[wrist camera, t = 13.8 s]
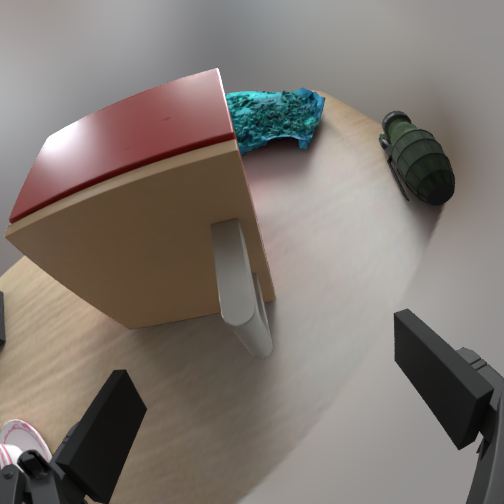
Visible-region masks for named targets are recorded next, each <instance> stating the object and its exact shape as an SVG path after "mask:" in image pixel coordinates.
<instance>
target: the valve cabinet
mask: <svg viewBox="0 0 504 504" xmlns="http://www.w3.org/2000/svg"><path fill="white" fill-rule="evenodd" d="M233 139H235V140H236V142H237V138H236V134H235V130H234V126H233V122H232V119H231V115H230V111H229V107H228V103H227V100H226V96H225V92H224V88H223V85H222V81H221V77H220V73H219V70H218V69H217V68H216V69H212V70H209V71H205V72H201V73H198V74H194V75H191V76H188V77H184V78H181V79H178V80H175V81H172V82H169V83H166V84H163V85H160V86H157V87H154V88H152V89H149V90H146V91H144V92H141V93H138V94H136V95H134V96H131V97H128V98H126V99H124V100H121V101H119V102H117V103H114V104H112V105H110V106H108V107H105V108H103V109H101V110H99V111H97V112H95V113H93V114H91V115H88V116H86V117H84V118H83V119H81V120H79V121H77V122H75V123H73V124H71V125H69V126H67V127H66V128H64V129H62V130H60V131H58V132H56V133H55V134H53V135H51V136H50V137H48V139H47V140H46V142H45V144H44V146H43V147H42V149H41V151H40V153H39V155H38V157H37V158H36V160H35V162H34V164H33V166H32V168H31V170H30V172H29V174H28V176H27V178H26V181H25V183H24V185H23V187H22V189H21V191H20V193H19V196H18V198H17V200H16V203H15V205H14V208H13V210H12V213H11V216H10V218H9V222H10V223H11V224H13V223H15V222H17V221H19V220H21V219H22V218H24V217H26V216H28V215H30V214H32V213H34V212H36V211H38V210H40V209H42V208H44V207H46V206H48V205H50V204H53V203H55V202H57V201H59V200H61V199H63V198H66V197H68V196H70V195H72V194H75V193H77V192H79V191H81V190H84V189H86V188H88V187H91V186H93V185H96V184H98V183H101V182H103V181H106V180H108V179H111V178H113V177H116V176H119V175H121V174H124V173H127V172H129V171H132V170H135V169H138V168H140V167H143V166H146V165H149V164H152V163H155V162H158V161H161V160H164V159H167V158H170V157H173V156H176V155H180V154H183V153H186V152H190V151H193V150H196V149H200V148H203V147H207V146H211V145H214V144H218V143H222V142H226V141H230V140H233ZM237 146H238V142H237ZM238 150H239V153H240V149H239V146H238ZM240 157H241V153H240ZM241 161H242V157H241ZM242 165H243V161H242ZM243 169H244V165H243ZM244 173H245V169H244ZM245 177H246V173H245ZM246 180H247V177H246ZM247 184H248V181H247ZM248 188H249V185H248ZM249 192H250V189H249ZM250 196H251V193H250ZM251 200H252V197H251ZM252 204H253V201H252ZM253 208H254V205H253ZM254 212H255V209H254ZM255 216H256V213H255ZM256 220H257V217H256ZM257 224H258V221H257ZM258 228H259V225H258ZM259 232H260V229H259ZM260 236H261V233H260ZM261 240H262V237H261ZM262 244H263V242H262ZM263 248H264V246H263ZM264 252H265V250H264ZM265 256H266V254H265ZM266 260H267V258H266ZM267 264H268V263H267ZM268 268H269V267H268ZM269 272H270V271H269ZM270 276H271V275H270Z"/></svg>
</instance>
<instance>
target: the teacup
mask: <svg viewBox="0 0 504 504" xmlns="http://www.w3.org/2000/svg"><path fill="white" fill-rule="evenodd" d="M30 449H34V450H37V451H38V452H39V453H40V454H41V455H42V457H43V458H44V459H45V460H46V461H47V462H48V463H49V462H50V460H51V458H52V455H51V453H50V450H49V448H48V446H47V445H46V443H45V442H44V440H43V439H42V437H41V436H40V434H39V433H38V432H37V431H36V430H35V429H34V428H33V427H32V426H31V425H30V424H28V423H26V422H24V421H22V420H19V419H17V420H10V421H9V422H7V423H6V424H5V425H4V426H3V428H2V430H1V432H0V471H1V470H2V468H3V467H4V466H6V465H9V464H14V465H16V466H17V467H18V468H19V469H20V470H21V471H22V472H24V471H23V470H22V469H21V468H20V467H19V466H18V465H17V459H18V458H19V456H20V455H21V454H22V453H23V452H25V451H27V450H30ZM22 504H24V503H23V502H22Z"/></svg>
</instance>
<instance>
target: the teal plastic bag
mask: <svg viewBox="0 0 504 504" xmlns="http://www.w3.org/2000/svg"><path fill="white" fill-rule="evenodd" d="M225 96H226V100H227V103H228V107H229V111H230V115H231V119H232V122H233V126H234V130H235V134H236V138H237V142H238V146H239V149H240V153H241V156H242V155H243V154H246V151H247V152H251V150H252V148H254V149H258V148H259V147H260V145H266V144H267V140H268V141H269V140H270V139H271V138H272V139H275V138H277V139H280V140H282V138H283V136H289V137H290V138H293V137H295V138H297V139H299V147H300V149H306V148H308V144H309V141H310V142H311V138H312V136H313V134H314V131H315V127H316V126H318V123H319V121H320V119H321V115H322V110H323V106H324V102H325V98H324V97H320V96H319V95H318V94H317V93H316V92H312V91H310V90H306V89H304V88H301V89H299V90H296V91H294V92H287V91H283V92H282V93H278V92H273V91H272V92H265V91H263V92H258V91H256V92H251V91H243V92H236V93H228V94H225Z"/></svg>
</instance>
